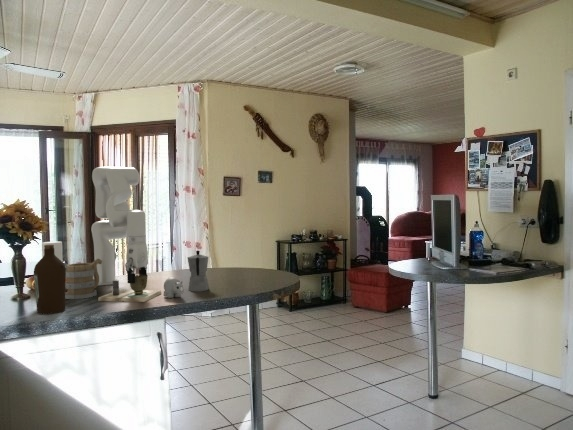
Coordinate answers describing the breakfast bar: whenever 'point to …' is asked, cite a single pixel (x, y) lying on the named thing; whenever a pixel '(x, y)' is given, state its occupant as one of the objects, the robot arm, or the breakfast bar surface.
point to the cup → (139, 284)
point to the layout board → (128, 295)
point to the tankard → (82, 280)
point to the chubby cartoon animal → (173, 287)
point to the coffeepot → (198, 272)
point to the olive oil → (50, 283)
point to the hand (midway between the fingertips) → (137, 280)
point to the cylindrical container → (56, 249)
